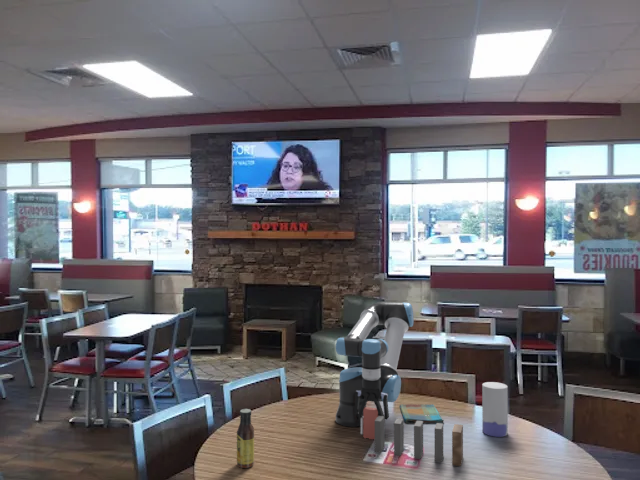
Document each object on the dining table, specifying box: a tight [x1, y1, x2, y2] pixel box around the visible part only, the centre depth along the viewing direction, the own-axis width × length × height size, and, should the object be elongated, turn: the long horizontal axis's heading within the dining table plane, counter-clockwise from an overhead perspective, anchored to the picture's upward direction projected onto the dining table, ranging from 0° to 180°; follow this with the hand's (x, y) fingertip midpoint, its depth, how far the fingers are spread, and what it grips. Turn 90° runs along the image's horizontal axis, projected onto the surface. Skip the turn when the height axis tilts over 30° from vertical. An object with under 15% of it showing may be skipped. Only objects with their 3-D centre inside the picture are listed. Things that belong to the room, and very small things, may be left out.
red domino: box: [362, 406, 379, 440], centre depth 207 cm, size 2×6×12 cm, turn 69°
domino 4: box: [434, 423, 444, 463], centre depth 187 cm, size 2×6×12 cm, turn 159°
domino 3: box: [413, 420, 424, 460], centre depth 190 cm, size 2×6×12 cm, turn 159°
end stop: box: [451, 423, 464, 467], centre depth 185 cm, size 3×8×12 cm, turn 159°
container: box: [481, 381, 509, 438], centre depth 213 cm, size 10×10×20 cm
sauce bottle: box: [236, 408, 255, 469], centre depth 182 cm, size 7×6×20 cm
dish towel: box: [399, 403, 445, 425], centre depth 235 cm, size 17×23×2 cm
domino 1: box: [374, 415, 386, 454], centre depth 195 cm, size 2×6×12 cm, turn 159°
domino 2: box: [393, 417, 405, 457], centre depth 193 cm, size 2×6×12 cm, turn 159°
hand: (371, 434), depth 207 cm, fingers open, 7 cm apart
